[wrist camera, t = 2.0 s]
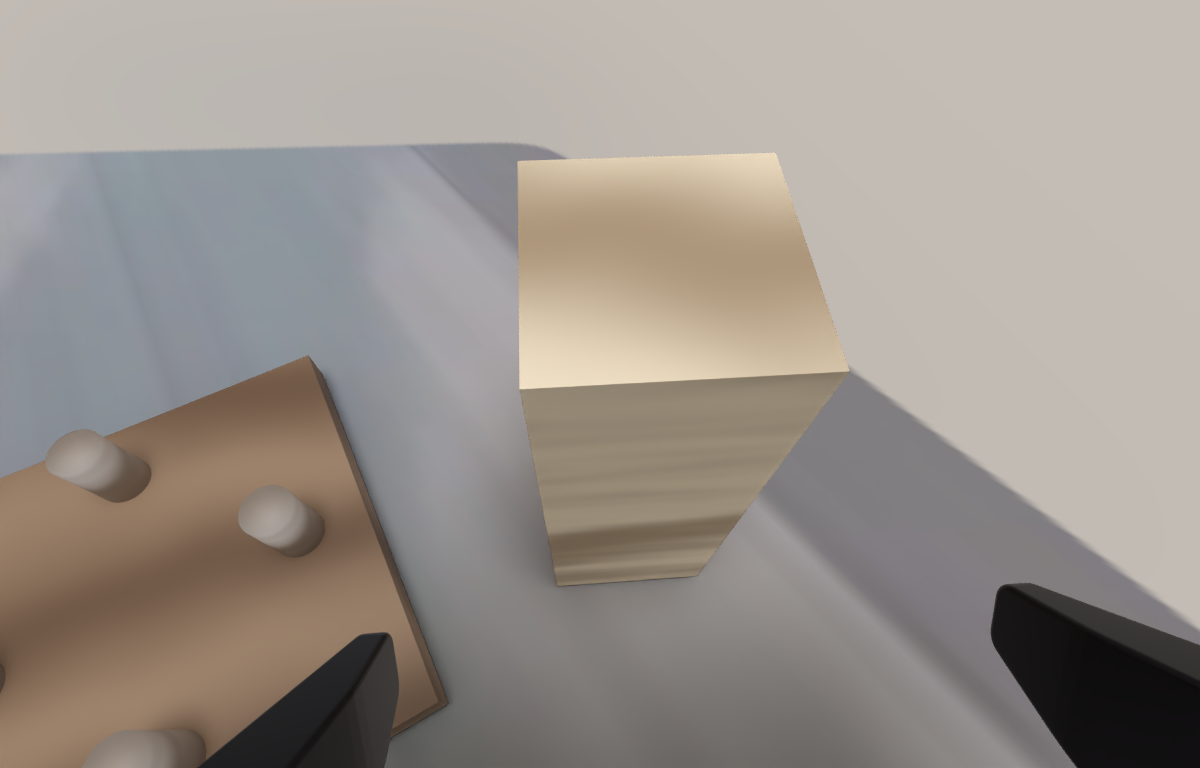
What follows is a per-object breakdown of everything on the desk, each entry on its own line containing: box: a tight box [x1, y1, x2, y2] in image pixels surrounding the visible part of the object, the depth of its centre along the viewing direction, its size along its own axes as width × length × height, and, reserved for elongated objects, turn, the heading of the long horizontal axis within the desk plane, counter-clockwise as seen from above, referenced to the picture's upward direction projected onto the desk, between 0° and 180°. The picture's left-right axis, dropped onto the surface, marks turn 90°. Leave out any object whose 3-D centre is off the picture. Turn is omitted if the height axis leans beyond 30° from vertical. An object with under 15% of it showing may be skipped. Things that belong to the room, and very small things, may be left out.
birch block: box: [518, 153, 850, 586], centre depth 16 cm, size 5×5×14 cm
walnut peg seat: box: [0, 356, 448, 768], centre depth 18 cm, size 14×14×4 cm
